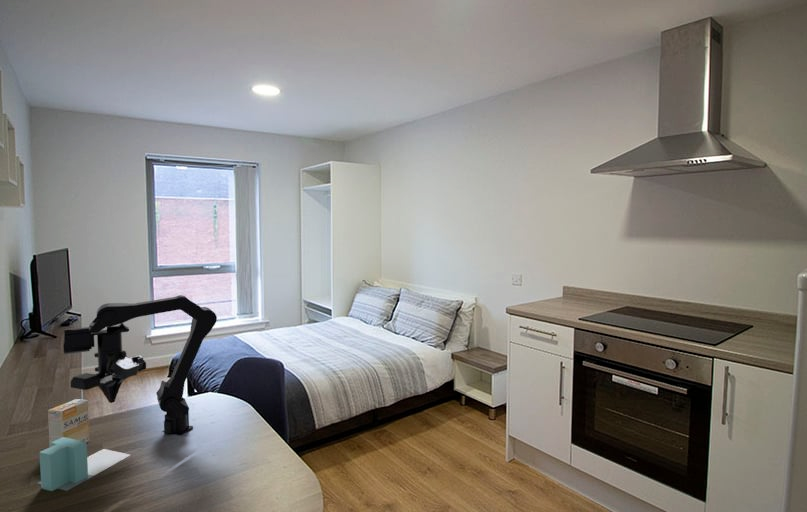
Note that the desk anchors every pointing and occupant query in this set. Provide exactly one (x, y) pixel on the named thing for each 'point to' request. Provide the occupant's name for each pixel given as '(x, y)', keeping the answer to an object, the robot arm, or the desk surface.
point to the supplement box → (69, 421)
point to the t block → (63, 463)
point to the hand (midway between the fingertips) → (111, 402)
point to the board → (98, 464)
